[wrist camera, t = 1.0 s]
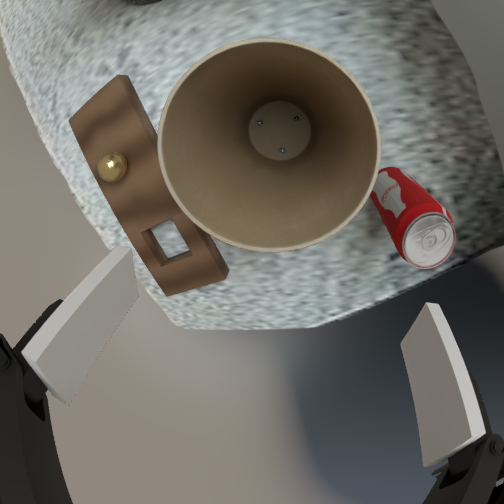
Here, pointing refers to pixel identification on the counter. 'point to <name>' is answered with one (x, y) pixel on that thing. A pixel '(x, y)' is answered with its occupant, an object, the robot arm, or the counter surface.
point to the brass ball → (112, 166)
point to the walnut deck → (143, 188)
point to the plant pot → (269, 145)
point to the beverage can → (413, 219)
